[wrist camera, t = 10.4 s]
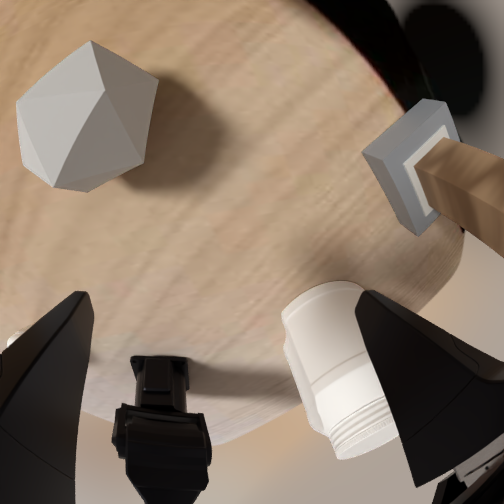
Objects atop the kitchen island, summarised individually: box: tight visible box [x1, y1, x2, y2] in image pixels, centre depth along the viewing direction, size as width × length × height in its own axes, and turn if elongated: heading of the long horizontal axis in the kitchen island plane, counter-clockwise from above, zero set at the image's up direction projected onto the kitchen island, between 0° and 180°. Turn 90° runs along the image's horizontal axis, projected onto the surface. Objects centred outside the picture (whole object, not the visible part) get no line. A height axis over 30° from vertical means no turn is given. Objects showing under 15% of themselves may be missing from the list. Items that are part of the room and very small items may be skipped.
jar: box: [281, 281, 399, 460], centre depth 23 cm, size 12×10×15 cm
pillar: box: [413, 137, 504, 258], centre depth 13 cm, size 4×4×13 cm
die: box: [16, 40, 159, 192], centre depth 12 cm, size 8×9×10 cm
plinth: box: [362, 99, 460, 237], centre depth 20 cm, size 9×9×3 cm
